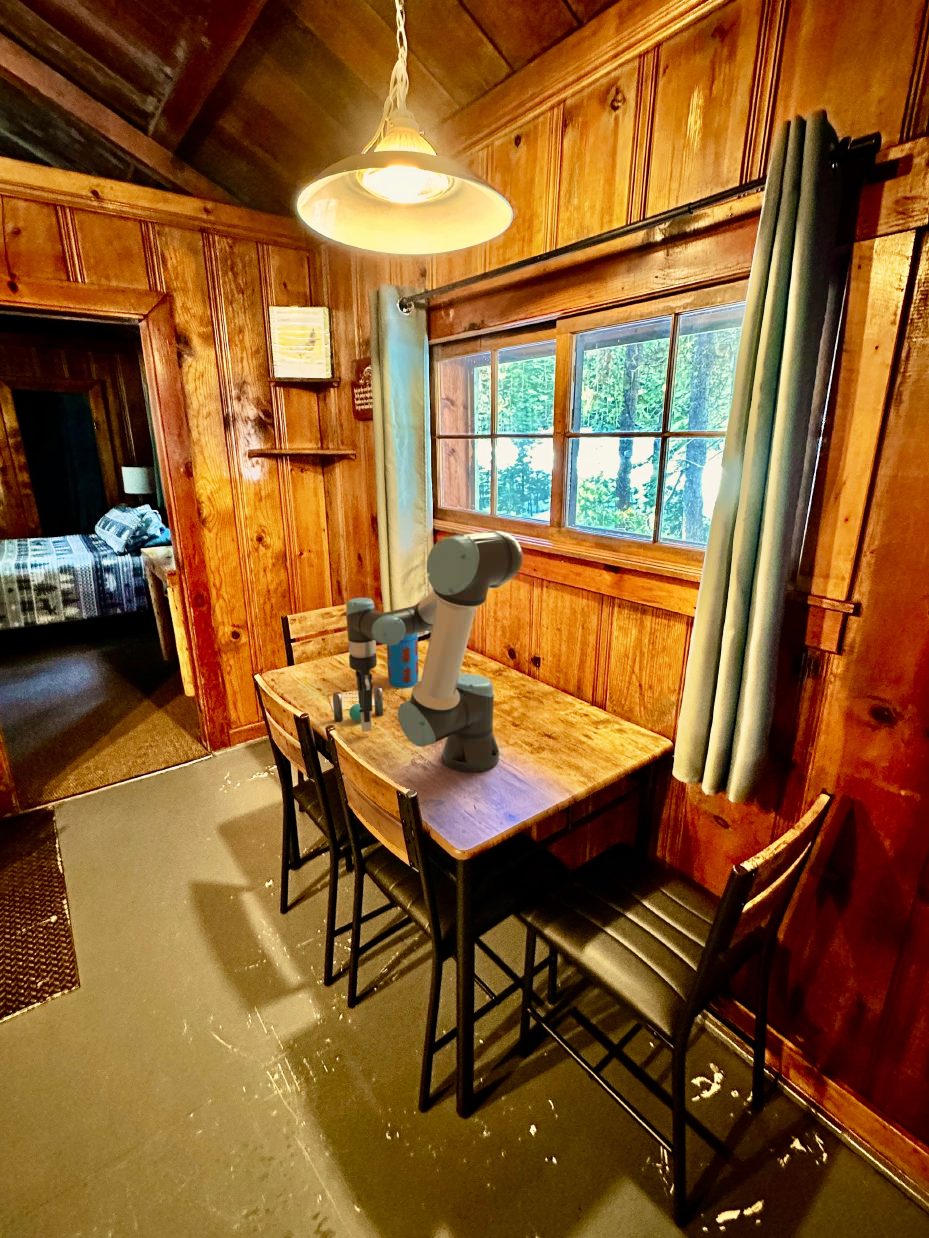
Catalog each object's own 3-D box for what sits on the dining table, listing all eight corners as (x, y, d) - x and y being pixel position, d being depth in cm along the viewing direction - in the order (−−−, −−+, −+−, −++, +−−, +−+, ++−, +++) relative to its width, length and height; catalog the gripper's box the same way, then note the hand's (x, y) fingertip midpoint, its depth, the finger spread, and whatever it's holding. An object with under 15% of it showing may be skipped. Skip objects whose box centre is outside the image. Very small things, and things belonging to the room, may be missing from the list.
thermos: (422, 678, 209) (421, 612, 202) (412, 689, 199) (410, 620, 192) (395, 675, 212) (392, 610, 205) (383, 686, 202) (380, 618, 195)
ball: (365, 717, 179) (369, 722, 174) (348, 719, 177) (351, 725, 172) (365, 700, 178) (369, 705, 173) (347, 702, 176) (350, 707, 171)
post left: (343, 721, 175) (341, 694, 173) (334, 723, 174) (333, 695, 172) (342, 718, 178) (340, 691, 175) (333, 719, 177) (331, 692, 174)
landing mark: (376, 705, 187) (376, 704, 187) (333, 711, 182) (333, 711, 182) (368, 689, 199) (368, 688, 199) (327, 695, 195) (327, 694, 195)
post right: (384, 715, 179) (382, 688, 177) (375, 716, 179) (374, 690, 176) (382, 712, 182) (381, 685, 179) (374, 713, 181) (372, 687, 178)
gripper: (345, 647, 164) (350, 722, 171) (352, 662, 152) (357, 742, 159) (371, 644, 166) (374, 718, 173) (380, 659, 155) (384, 738, 161)
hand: (366, 730), depth 166 cm, fingers closed
